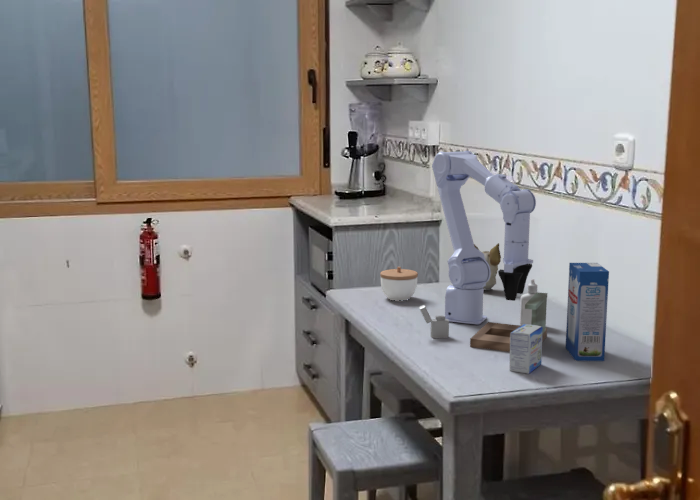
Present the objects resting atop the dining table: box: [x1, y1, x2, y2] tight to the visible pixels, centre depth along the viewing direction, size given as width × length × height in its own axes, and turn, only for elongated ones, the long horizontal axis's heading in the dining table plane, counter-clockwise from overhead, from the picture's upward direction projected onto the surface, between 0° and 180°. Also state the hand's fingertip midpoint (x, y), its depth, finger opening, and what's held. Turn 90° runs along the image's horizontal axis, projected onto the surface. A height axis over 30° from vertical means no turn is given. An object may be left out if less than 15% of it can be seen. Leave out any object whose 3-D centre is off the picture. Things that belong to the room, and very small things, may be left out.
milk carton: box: [565, 262, 610, 362], centre depth 185 cm, size 10×6×20 cm, turn 178°
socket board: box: [469, 291, 548, 353], centre depth 195 cm, size 14×16×11 cm
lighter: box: [418, 304, 450, 339], centre depth 199 cm, size 7×2×8 cm, turn 98°
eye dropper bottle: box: [519, 278, 538, 326], centre depth 209 cm, size 4×6×12 cm
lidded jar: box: [379, 266, 419, 302], centre depth 238 cm, size 11×11×9 cm
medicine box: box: [509, 324, 543, 375], centre depth 176 cm, size 8×4×9 cm, turn 148°
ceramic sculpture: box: [474, 243, 502, 290], centre depth 249 cm, size 11×9×15 cm
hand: (514, 296), depth 200 cm, fingers open, 7 cm apart
